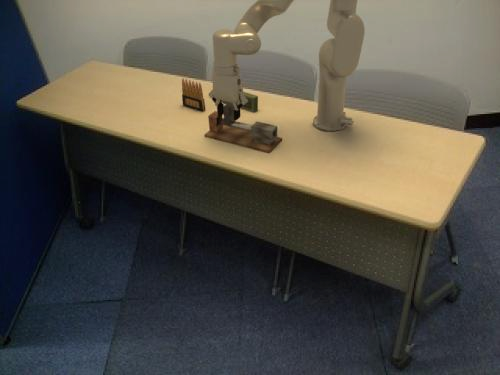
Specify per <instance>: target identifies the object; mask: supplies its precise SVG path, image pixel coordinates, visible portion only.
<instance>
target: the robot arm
mask: <svg viewBox="0 0 500 375" xmlns="http://www.w3.org/2000/svg"><path fill="white" fill-rule="evenodd" d="M294 1H295V0H257V1H255V2H254V3H253V4H252V5H251V6H250V7H249V8H248V9H247V10H246V12H245V13H244V14H243V15H242V17H241V19H240V20H239V22H238V23H237V24H236V26H235V28H234V31H233V30H231V29H219V30H216V31H215V32H213V34H212V45H213V46H212V47H213V48H212V49H213V61H214V63H213V64H214V71H213V75H212V89H211V90H210V91H209V92H208V96H209V98H210V99H212V101H213V102H214V104H215V106H216V111H217V113H218V117H220V116H222V117H223V116H224V112H223V107H224V106H225V105H224V104H225V103H224V102H222V101H227V102H232V103H233V106H234V108H235V110H234V120H235V121H238V120H239V119H240V117H241V109H242V108H241V107H242V106H243V105H244V104H246V103H247V102H248V100H247V99H246V97H245V96H244V95H243V92H244V87H243V80H242V76H241V72H240V71H241V67H238V55H241V56H253V55H255V54H257V53H258V52H259V51H260V49H261V47H262V41H261V38H260V36H259V35H258V33H259V31H260V30H261V28H263V26H265V24H266V23H267V22H268V21H269V20H271V19H272V18H274V17H277V16H281V15H283V14H285V13H286V11H288V9H289V8H290V6H291V5H292V3H293V2H294ZM357 5H358V0H330V2H329V8H328V14H327V19H326V27H327V28H326V29H327V31H328V32H329V33H330V34H331V35H332V36H333V37H332V38H328V39H326V40H325V41H324V42H323V43H322V44H321V46H320V48H319V52H318V66H319V68H318V69H319V75H318V76H319V78H318V80H319V82H318V94H317V95H318V96H317V112H316V113H317V114H316V116H314V117H313V119H312V125H313V127H314V128H316V129H318V130H321V131H325V132H337V131H341V130H343V129H345V128H346V126H350V127H353V125H354V121H355V120H353V117H349V116H347V115H346V114H347V112H345V98H346V87H347V79H348V77H350V76H351V75H352V74H354V72H355V71H356V70H357V68H358V66H359V61H360V58H361V54H362V49H363V43H364V40H365V39H364V37H365V33H366V32H365V31H366V29H365V24H364V23H365V22H364V21H363V19H362V18H361V17H360V15H358V14H357ZM239 99H241V100H242V102H241V103H240V100H239ZM237 105H238V106H237Z"/></svg>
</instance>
